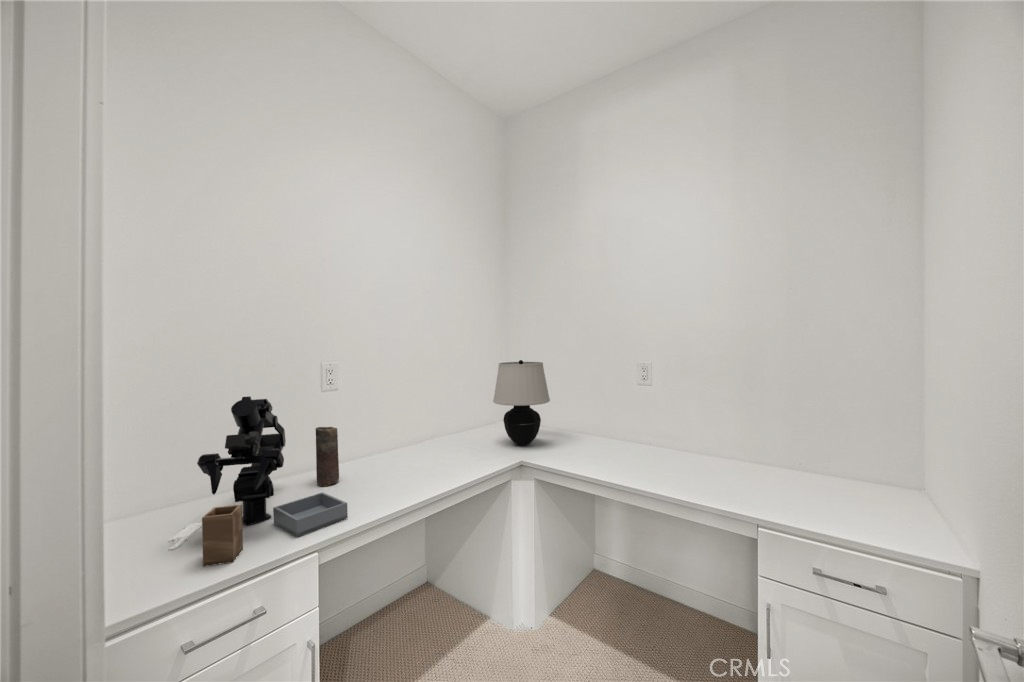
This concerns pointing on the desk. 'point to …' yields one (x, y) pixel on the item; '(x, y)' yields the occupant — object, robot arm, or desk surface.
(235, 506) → the walnut crate
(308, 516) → the tray
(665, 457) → the desk surface
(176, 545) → the white angle bracket
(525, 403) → the table lamp
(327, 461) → the candle
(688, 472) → the desk surface
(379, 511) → the desk surface
